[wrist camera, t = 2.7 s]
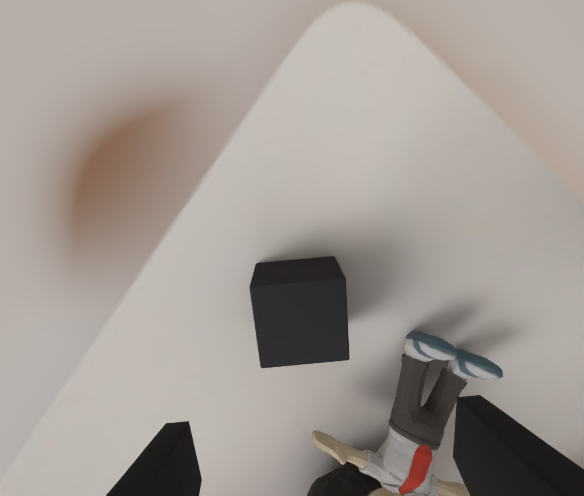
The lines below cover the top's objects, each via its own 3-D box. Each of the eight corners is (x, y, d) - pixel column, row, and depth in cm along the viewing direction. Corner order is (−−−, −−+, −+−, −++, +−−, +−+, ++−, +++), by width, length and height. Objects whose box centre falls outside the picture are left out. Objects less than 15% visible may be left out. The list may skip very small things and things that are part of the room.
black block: (264, 333, 17) (260, 369, 14) (255, 263, 16) (249, 286, 13) (338, 326, 17) (349, 360, 14) (334, 255, 16) (345, 277, 13)
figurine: (556, 388, 15) (452, 716, 14) (462, 351, 22) (384, 571, 20) (383, 312, 14) (245, 665, 12) (337, 296, 21) (243, 527, 19)
